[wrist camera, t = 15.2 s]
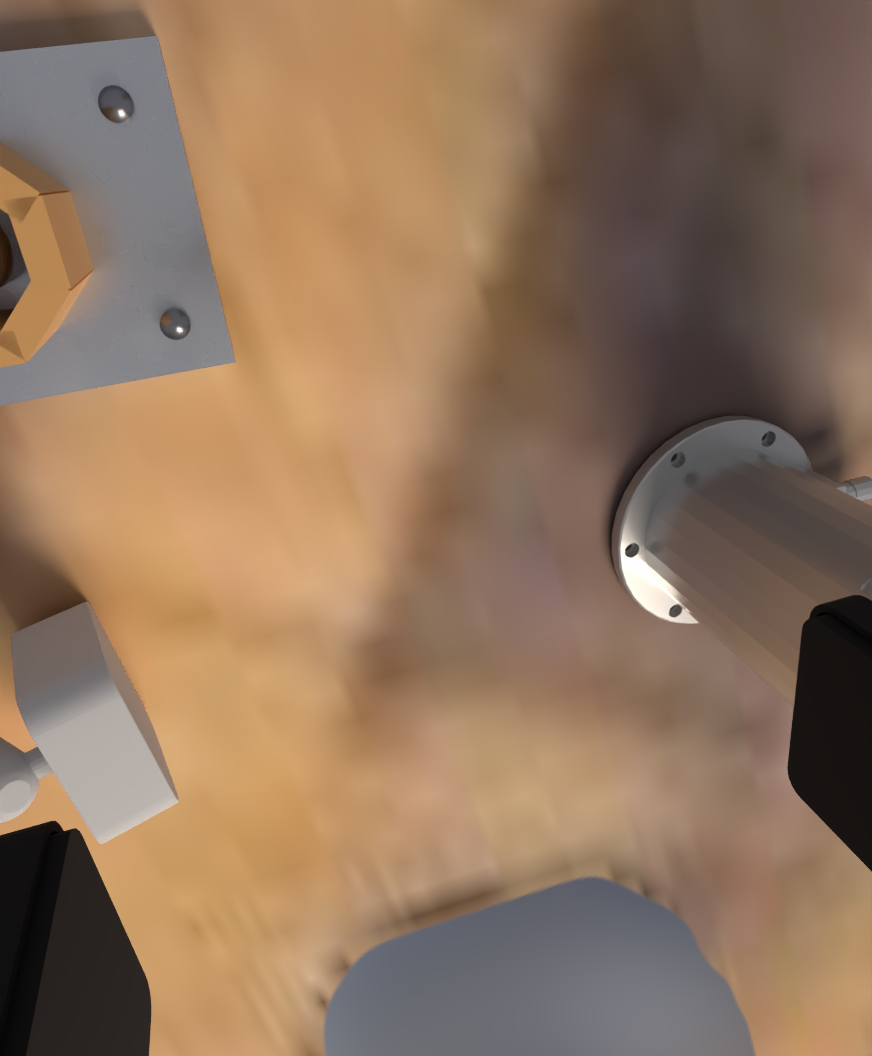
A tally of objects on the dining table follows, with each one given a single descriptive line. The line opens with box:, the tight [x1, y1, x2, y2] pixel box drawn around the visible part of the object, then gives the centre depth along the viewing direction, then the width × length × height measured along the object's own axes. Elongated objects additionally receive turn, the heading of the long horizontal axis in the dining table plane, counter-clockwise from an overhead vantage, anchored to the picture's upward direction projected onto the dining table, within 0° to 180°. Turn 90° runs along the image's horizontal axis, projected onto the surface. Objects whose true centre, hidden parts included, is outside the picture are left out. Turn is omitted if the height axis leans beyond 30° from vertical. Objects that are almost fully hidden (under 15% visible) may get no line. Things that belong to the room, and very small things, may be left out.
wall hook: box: [0, 601, 179, 844], centre depth 34 cm, size 8×10×10 cm
